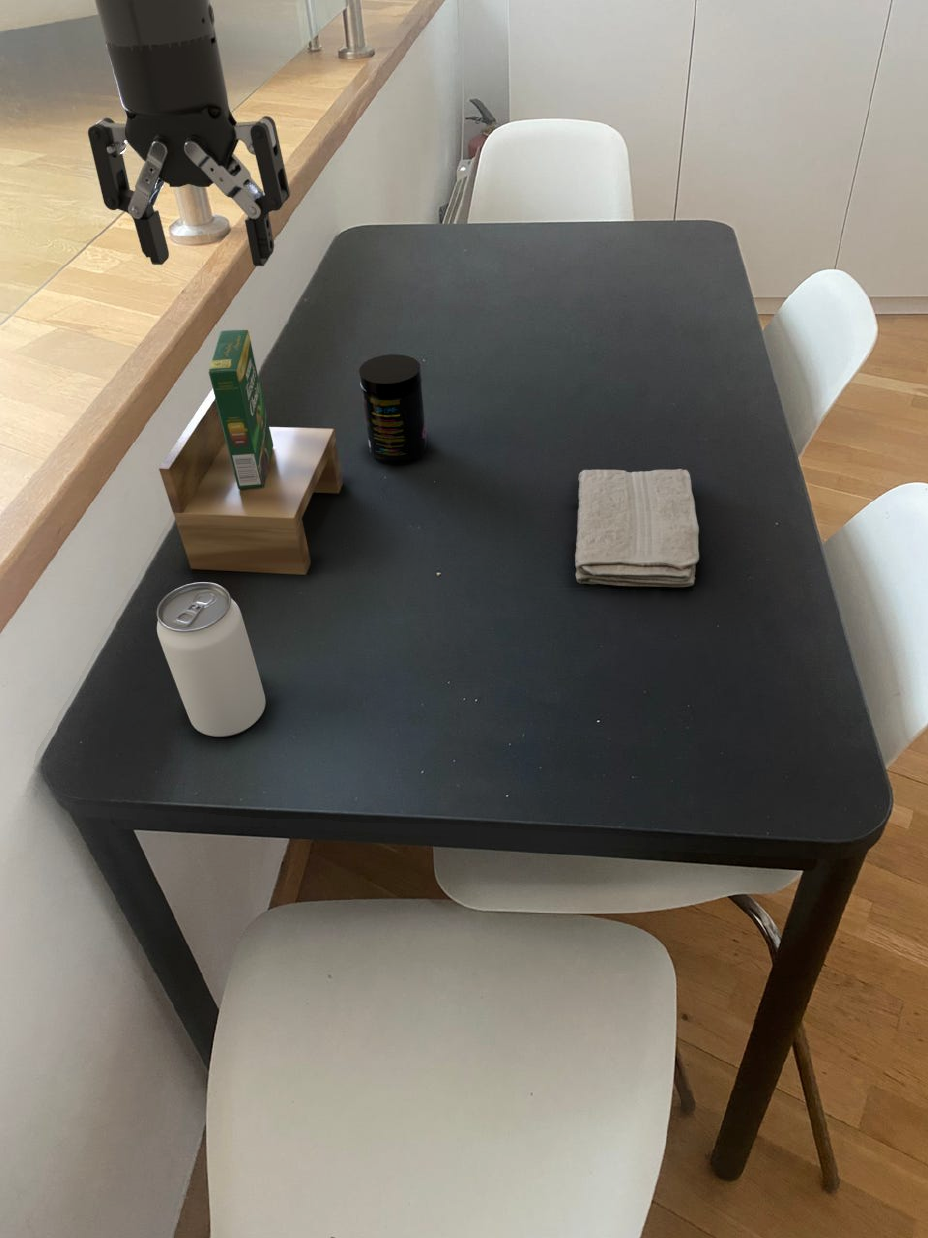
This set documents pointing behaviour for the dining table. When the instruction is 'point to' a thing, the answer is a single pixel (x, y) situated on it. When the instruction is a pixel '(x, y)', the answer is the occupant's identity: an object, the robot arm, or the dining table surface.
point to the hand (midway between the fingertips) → (211, 262)
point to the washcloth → (636, 528)
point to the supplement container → (393, 408)
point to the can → (210, 659)
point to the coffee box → (241, 408)
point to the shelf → (247, 496)
